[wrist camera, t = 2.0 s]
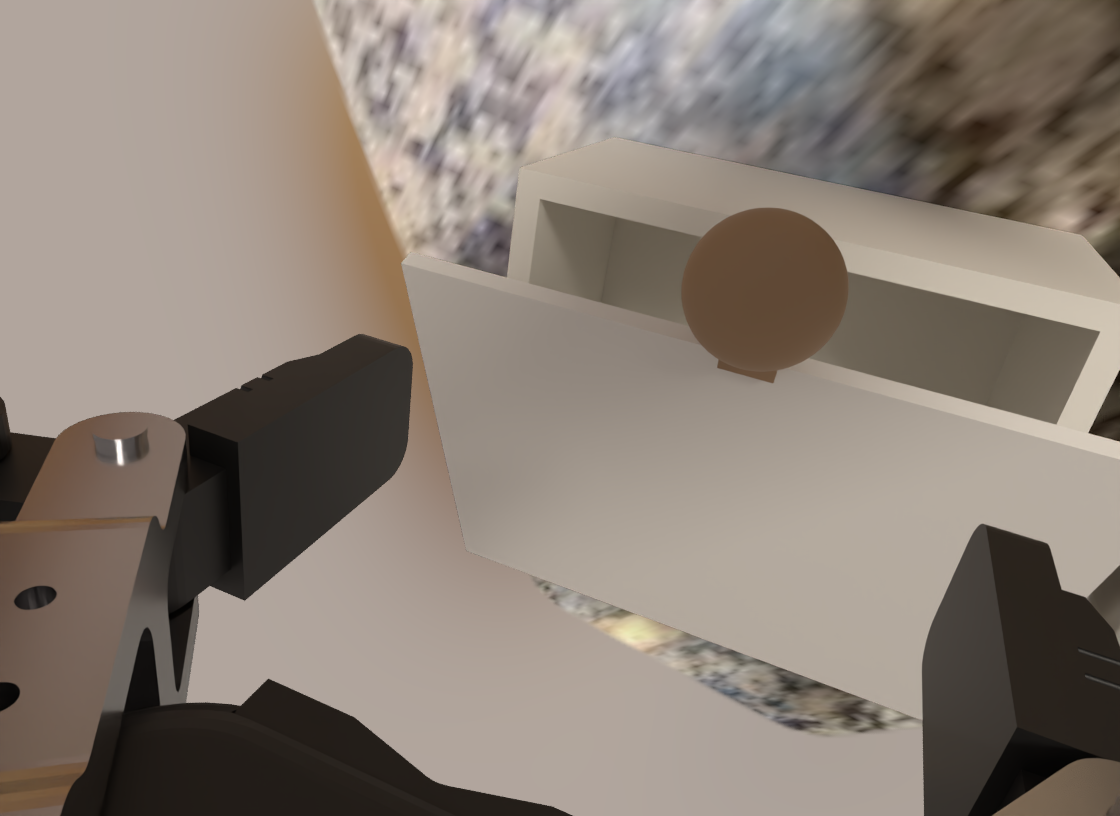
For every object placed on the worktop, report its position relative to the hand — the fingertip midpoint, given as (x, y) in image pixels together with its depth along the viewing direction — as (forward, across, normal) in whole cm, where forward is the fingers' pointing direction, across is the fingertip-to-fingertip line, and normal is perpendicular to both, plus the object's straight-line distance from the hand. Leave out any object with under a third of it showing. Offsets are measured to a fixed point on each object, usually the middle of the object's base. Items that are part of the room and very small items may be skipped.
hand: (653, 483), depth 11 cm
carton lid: (+16, 0, +8) cm, 18 cm away
